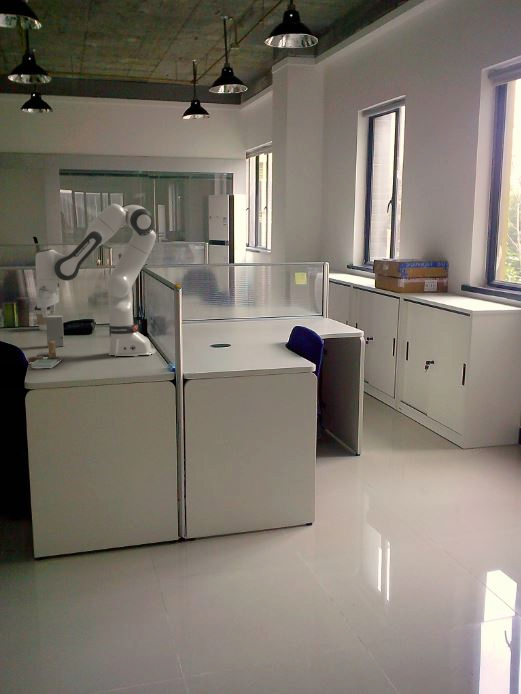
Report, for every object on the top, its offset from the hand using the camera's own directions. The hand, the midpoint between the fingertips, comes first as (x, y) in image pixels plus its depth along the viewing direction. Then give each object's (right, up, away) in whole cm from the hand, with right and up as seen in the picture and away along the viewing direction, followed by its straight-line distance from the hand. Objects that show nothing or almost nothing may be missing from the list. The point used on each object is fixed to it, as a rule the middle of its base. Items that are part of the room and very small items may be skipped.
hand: (48, 315), depth 307 cm
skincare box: (-9, -14, +43) cm, 46 cm away
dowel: (+1, -22, +3) cm, 22 cm away
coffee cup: (-31, -4, +94) cm, 99 cm away
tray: (0, -23, -5) cm, 24 cm away
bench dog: (-6, -22, +2) cm, 23 cm away
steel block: (-6, -20, +14) cm, 25 cm away
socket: (+1, -22, +3) cm, 22 cm away
